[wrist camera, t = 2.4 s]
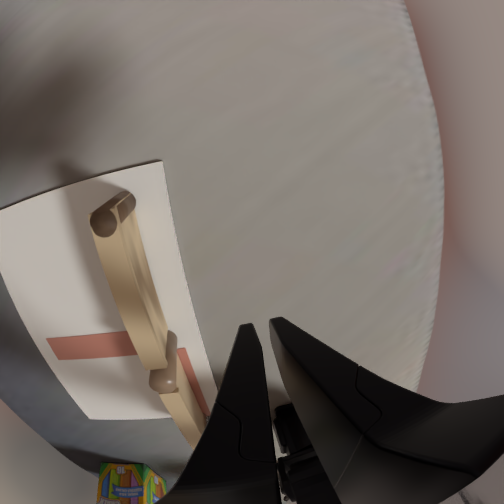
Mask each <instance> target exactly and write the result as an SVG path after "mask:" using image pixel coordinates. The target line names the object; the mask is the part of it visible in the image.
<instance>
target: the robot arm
mask: <svg viewBox="0 0 504 504" xmlns="http://www.w3.org/2000/svg"><path fill="white" fill-rule="evenodd" d="M269 328H270V339H271V344H272V348H273V351H274V354H275V358H276V361H277V364H278V368H279V371H280V374H281V378H282V381H283V383H284V386H285V388H286V390H287V393H288V395H289V397H290V399H291V401H292V403H293V404H289V405H285V406H281V407H278V408H276V409H275V414H276V419H274V421H273V424H274V431H275V434H276V437H277V441H278V444H279V447H280V450H281V453H283V454H284V453H287V456H285V457H280V458H278V463H276V455H275V447H274V439H273V431H272V423H271V415H270V407H269V399H268V391H267V383H266V375H265V367H264V359H263V351H262V347H261V343H260V341H259V338H258V336H257V333H256V330H255V328H254V325H253V324H252V323H247V324H242V325H240V326H239V329H238V332H237V335H236V338H235V341H234V344H233V347H232V350H231V353H230V356H229V360H228V363H227V366H226V369H225V372H224V375H223V378H222V381H221V384H220V387H219V390H218V393H217V396H216V399H215V403H214V405H213V408H212V411H211V414H210V416H209V419H208V422H207V424H206V427H205V429H204V431H203V433H202V435H201V437H200V439H199V441H198V443H197V445H196V447H195V449H194V451H193V453H192V455H191V456H190V458H189V460H188V462H187V464H186V466H185V468H184V469H183V471H182V473H181V475H180V477H179V478H178V480H177V481H176V483H175V484H174V486H173V487H172V488H171V489H170V491H169V492H168V493H167V494H165V495H164V496H163V497H162V498H160V499H159V500H158V501H156V502H155V503H154V504H282V502H281V494H280V489H281V492H282V493H283V494H285V495H287V497H288V498H289V499H290V500H291V502H295V501H296V503H297V504H504V395H499V396H495V397H490V398H485V399H479V400H473V401H467V402H459V403H444V402H439V401H435V400H432V399H430V398H427V397H425V396H422V395H420V394H417V393H415V392H412V391H410V390H408V389H405V388H403V387H401V386H398V385H396V384H394V383H392V382H390V381H387V380H385V379H383V378H381V377H380V376H378V375H376V374H374V373H372V372H370V371H369V370H367V369H365V368H364V367H362V366H359V367H358V364H357V363H355V362H353V361H352V360H350V359H349V358H347V357H345V356H344V355H342V354H340V353H339V352H337V351H335V350H334V349H332V348H331V347H329V346H327V345H326V344H324V343H323V342H321V341H319V340H318V339H316V338H315V337H313V336H311V335H310V334H308V333H307V332H305V331H304V330H302V329H300V328H299V327H297V326H296V325H294V324H293V323H291V322H289V321H288V320H286V319H285V318H283V317H276V318H272V319H270V320H269ZM277 470H278V471H277ZM278 473H279V479H278ZM279 480H280V487H279Z"/></svg>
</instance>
